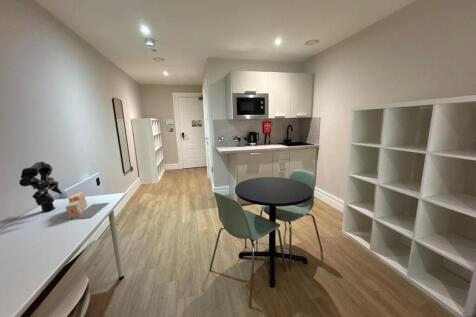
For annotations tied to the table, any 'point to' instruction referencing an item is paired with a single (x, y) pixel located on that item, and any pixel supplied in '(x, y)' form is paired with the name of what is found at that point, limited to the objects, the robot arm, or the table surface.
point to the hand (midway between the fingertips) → (57, 196)
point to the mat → (91, 211)
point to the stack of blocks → (76, 205)
